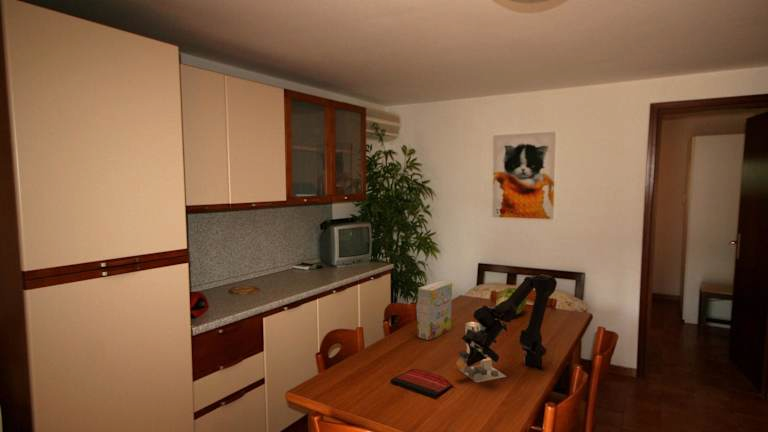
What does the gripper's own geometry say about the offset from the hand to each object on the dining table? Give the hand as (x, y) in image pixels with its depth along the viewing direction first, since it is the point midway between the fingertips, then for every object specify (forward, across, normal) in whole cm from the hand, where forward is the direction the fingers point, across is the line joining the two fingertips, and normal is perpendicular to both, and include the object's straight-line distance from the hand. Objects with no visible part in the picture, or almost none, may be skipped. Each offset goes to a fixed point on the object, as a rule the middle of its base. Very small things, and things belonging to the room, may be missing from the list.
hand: (467, 365), depth 170 cm
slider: (-4, -6, +13) cm, 15 cm away
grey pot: (-23, -46, +35) cm, 62 cm away
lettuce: (-42, -65, +56) cm, 95 cm away
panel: (-1, -3, +11) cm, 12 cm away
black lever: (+1, -8, +5) cm, 10 cm away
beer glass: (-6, -20, +16) cm, 27 cm away
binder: (+16, -5, -7) cm, 19 cm away
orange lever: (+1, 0, +5) cm, 5 cm away
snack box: (-4, -54, +15) cm, 56 cm away
